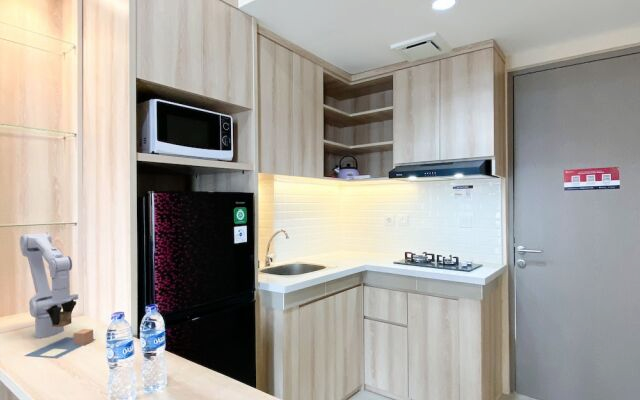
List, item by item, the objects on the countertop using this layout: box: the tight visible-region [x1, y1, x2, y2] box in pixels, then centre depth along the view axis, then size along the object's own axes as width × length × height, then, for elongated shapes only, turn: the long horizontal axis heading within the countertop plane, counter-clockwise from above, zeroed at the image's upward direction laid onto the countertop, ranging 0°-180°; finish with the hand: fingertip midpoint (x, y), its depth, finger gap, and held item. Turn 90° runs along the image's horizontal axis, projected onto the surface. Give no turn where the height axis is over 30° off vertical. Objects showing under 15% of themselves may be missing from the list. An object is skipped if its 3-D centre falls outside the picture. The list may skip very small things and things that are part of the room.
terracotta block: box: [73, 328, 94, 346], centre depth 146 cm, size 4×4×4 cm
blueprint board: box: [24, 337, 96, 359], centre depth 142 cm, size 18×14×1 cm
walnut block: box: [52, 310, 72, 327], centre depth 147 cm, size 4×4×4 cm
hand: (61, 322), depth 147 cm, fingers closed on walnut block, 4 cm apart
